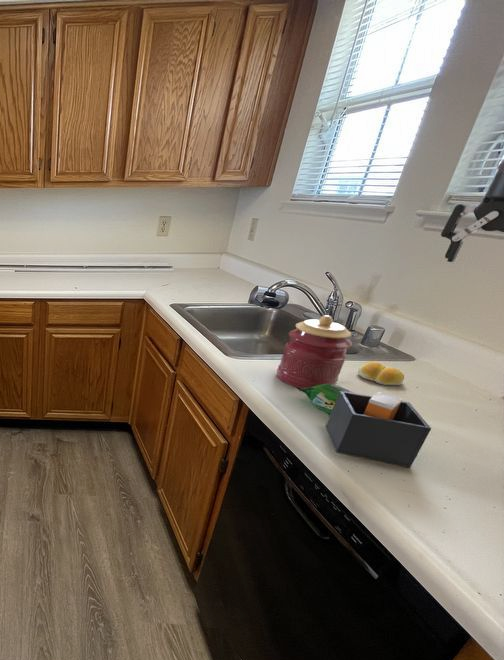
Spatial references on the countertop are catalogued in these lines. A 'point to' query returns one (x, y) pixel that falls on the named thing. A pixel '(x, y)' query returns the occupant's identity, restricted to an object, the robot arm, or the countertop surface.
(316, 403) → the snack package
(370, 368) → the bread roll
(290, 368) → the kitchen canister
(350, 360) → the countertop surface
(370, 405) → the drink carton
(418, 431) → the storage bin
